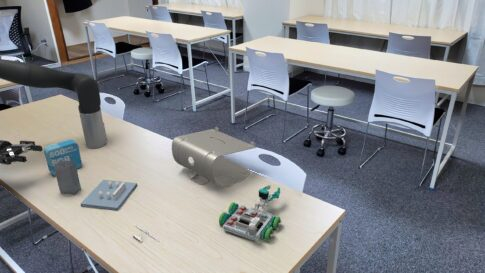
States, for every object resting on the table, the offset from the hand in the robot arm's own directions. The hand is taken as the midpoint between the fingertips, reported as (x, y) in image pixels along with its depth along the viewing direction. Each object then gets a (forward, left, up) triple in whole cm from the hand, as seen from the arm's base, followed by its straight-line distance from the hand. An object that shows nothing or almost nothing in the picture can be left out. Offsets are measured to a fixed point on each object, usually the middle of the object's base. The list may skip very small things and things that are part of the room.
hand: (34, 153), depth 136 cm
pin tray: (0, +27, -15) cm, 31 cm away
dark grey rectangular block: (0, +11, -15) cm, 19 cm away
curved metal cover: (-23, +61, -15) cm, 67 cm away
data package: (-14, 0, -15) cm, 21 cm away
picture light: (+19, +48, -16) cm, 54 cm away
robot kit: (+3, +82, -16) cm, 84 cm away
